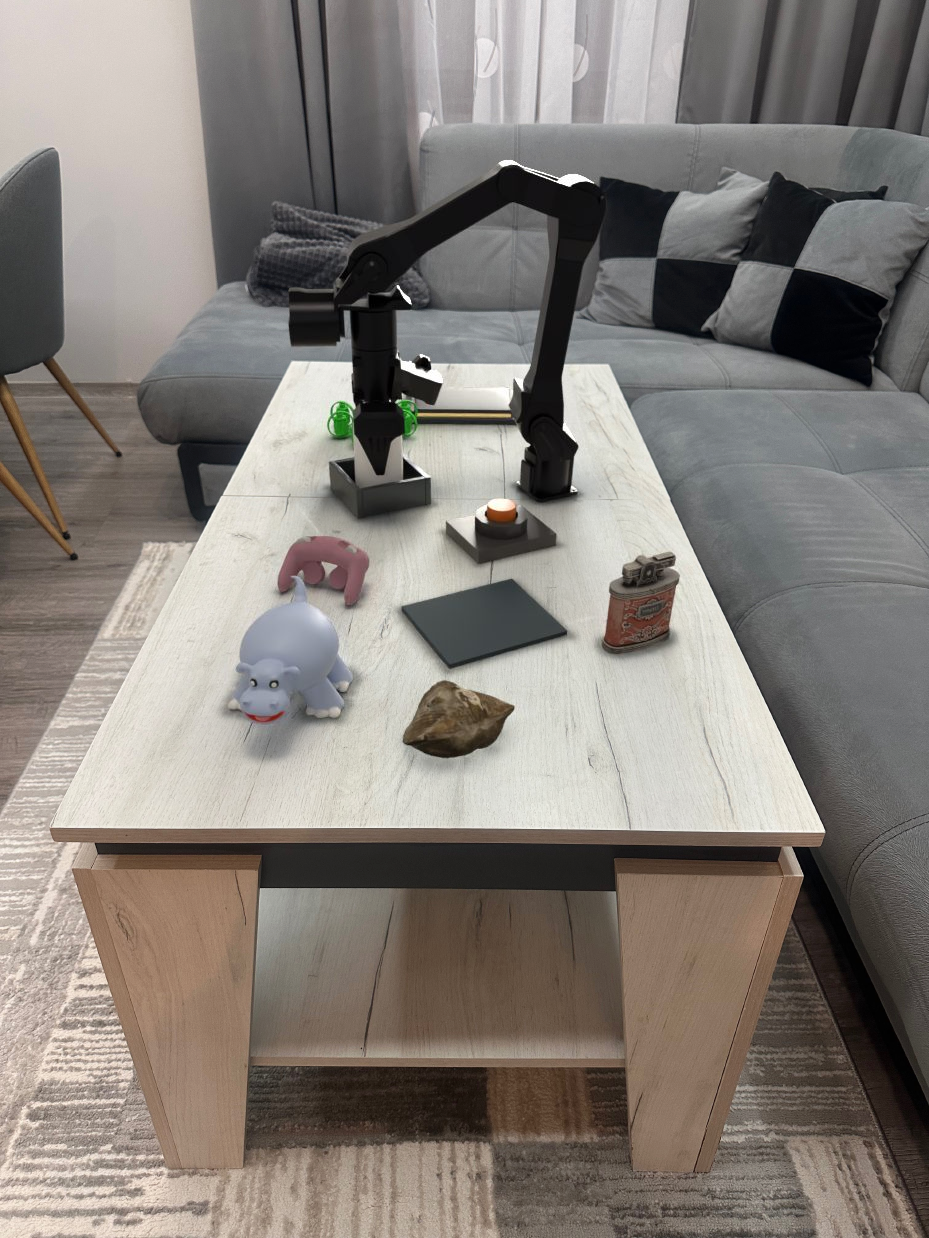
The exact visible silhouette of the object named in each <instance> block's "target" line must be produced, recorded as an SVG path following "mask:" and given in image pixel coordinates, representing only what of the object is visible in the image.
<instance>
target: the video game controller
mask: <svg viewBox="0 0 929 1238" xmlns="http://www.w3.org/2000/svg"><path fill="white" fill-rule="evenodd" d="M323 563H327V564H330V565H335V566H336V567H335V568H334V569H332V570H331V571H330V572H329V575H328V584H329V585H330V586H331V587H332V588H334V589H336V590H343V589H344V592H343V595H344V596H343V599H344V602H345V604H346V605H347V606H352V605H354V603H356V601H357V600H358V598H359V596H360V594H361V592H362V589H363V586H364V581H365V578H366V574H367V572H368V570H369V567H370V557H369V555H368V553H367V552H365V550H363V549H362V548H360V547H357V546H356V545H355V544H354V543H351V542H350V541H348V540H345V539H342V538H340V537H335V536H330V535H307V536H303V537H300V538H297V539H296V540H295V541H294V542H293V543H292V544H291V545H290V546H289V549H288V551H287V552H286V555H285V557H284V559H283V562H282V565H281V567H280V569H279V573H278V575H277V588H278V590H279V591H280V592H282V593H283V592H286V591H288V590H289V589H290V588H291V586H292V585H293V584H294V582H295V581H296V579H294V578H291V576H298V577H299V574H300V571H301V572H302V574H303V577H304V579H305V581H306V582H307V583H308V584H310V585H311V584H312V585H314V584H321V583H323V582H324V580H325V579H326V569H325V566H324V565H323Z"/></svg>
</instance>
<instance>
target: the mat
mask: <svg viewBox="0 0 929 1238" xmlns="http://www.w3.org/2000/svg"><path fill="white" fill-rule="evenodd" d="M401 612H402V613H403V614H404V616H405V617H406V618H407V619H408V621H410V622H411V624H412V626H413V627H414V628H415V629H416V630H417V632H418V633H419V634H420V636H421V637H423V639H424V640H425V641H426V642H427V644H428V645H429V646H430V647H431V648H432V650H433V651H434V652H435V654H437V656H438V657H439V659H441V661H442V662H443V663H444V664H445V665H446V667H447V668H448V669H449V670H451V669H454V668H458V667H462V666H464V665H468V664H472V663H475V662H479V661H482V660H485V659H488V658H492V657H496V656H499V655H502V654H503V655H504V654H506V653H510V652H513V651H517V650H520V649H524V648H527V647H531V646H534V645H538V644H541V643H544V642H548V641H552V640H555V639H558V638H561V637H562V638H563V637H565V636H567V635H568V630H567V629H566V628H565V627H564V626H563V625H562V624H561V623H560V622H559V621H558V620H557V619H556V618H555V617H554V616H553V615H551V613H550V612H549V611H547V610H546V609H545V608H544V607H543V606H542V605H541V604H540V603H539V602H538V601H536V600H535V598H533V597H532V596H531V595H530V594H529V593H528V591H526V590H525V589H524V588H523V587H522V586H521V585H520V584H519V583H517V582H516V581H515V580H514V579H513V578H508V579H504V580H501V581H497V582H493V583H489V584H484V585H481V586H477V587H473V588H469V589H465V590H461V591H457V592H452V593H449V594H445V595H441V596H437V597H433V598H429V599H425V600H420V601H417V602H413V603H408V604H406V605H402V606H401Z"/></svg>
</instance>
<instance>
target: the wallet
mask: <svg viewBox="0 0 929 1238" xmlns="http://www.w3.org/2000/svg"><path fill="white" fill-rule="evenodd" d="M512 396H513V388H509V387H491V386H489V387H486V386H482V387H481V386H479V387H477V386H442V387H441V390H440V393H439V395H438V398H437V401H436V404H435V405H428V404H426V403H425V402H424V401H421V400H418V399H415V398H412V397H409V396H406V395H405V400H410V401H412V402H413V403H414V404H415V405H416V407H417V410H418V414H417V418H416V420H417V425H419V424H420V425H421V424H425V425H427V424H428V425H429V424H435V425H436V424H437V425H438V424H439V425H440V424H442V425H443V424H446V425H447V424H448V425H453V424H454V425H517V424H516V422H515V420H514V418H513V414H512V412H511V410H510V408H509V406H508V404H509V403H510V401H511V399H512ZM407 404H409V405H410V408H411V411H412V414H413V415H414V416H415V413H416V410H415V406H414V405H413V404H412V403H410V402H407ZM412 420H413V418H412ZM412 424H415V422H413V423H412Z"/></svg>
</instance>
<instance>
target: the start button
mask: <svg viewBox="0 0 929 1238" xmlns="http://www.w3.org/2000/svg"><path fill="white" fill-rule="evenodd" d="M486 505H487V518H488V519H490V520H493V521H496V522H508V521H512V520H515V518H516V506H517V503H516V502H515V501H513V500H511V499H508V498H493V499H490V500H489V501H488V502H487V504H486Z"/></svg>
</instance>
